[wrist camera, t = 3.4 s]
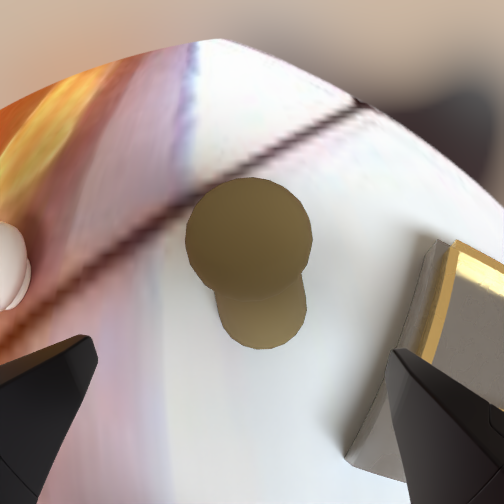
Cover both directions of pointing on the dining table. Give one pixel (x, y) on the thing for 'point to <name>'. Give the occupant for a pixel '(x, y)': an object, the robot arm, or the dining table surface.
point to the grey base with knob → (444, 343)
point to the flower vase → (12, 267)
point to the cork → (252, 258)
